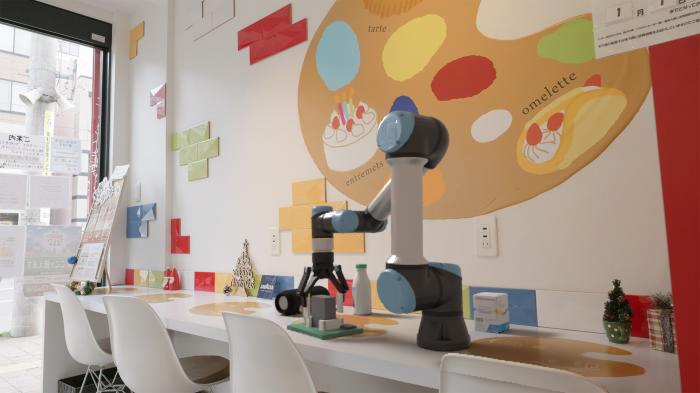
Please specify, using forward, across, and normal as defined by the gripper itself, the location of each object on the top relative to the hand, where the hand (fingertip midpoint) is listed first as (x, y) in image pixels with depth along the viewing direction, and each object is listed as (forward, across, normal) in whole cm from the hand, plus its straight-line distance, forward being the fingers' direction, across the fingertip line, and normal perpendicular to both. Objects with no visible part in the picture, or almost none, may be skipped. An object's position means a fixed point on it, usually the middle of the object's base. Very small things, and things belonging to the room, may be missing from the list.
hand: (323, 314), depth 152 cm
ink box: (+5, -41, +37) cm, 55 cm away
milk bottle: (+5, -30, -17) cm, 35 cm away
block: (+4, 0, 0) cm, 4 cm away
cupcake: (+5, -6, -18) cm, 20 cm away
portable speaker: (+5, -16, -40) cm, 43 cm away
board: (+5, 0, 0) cm, 5 cm away
